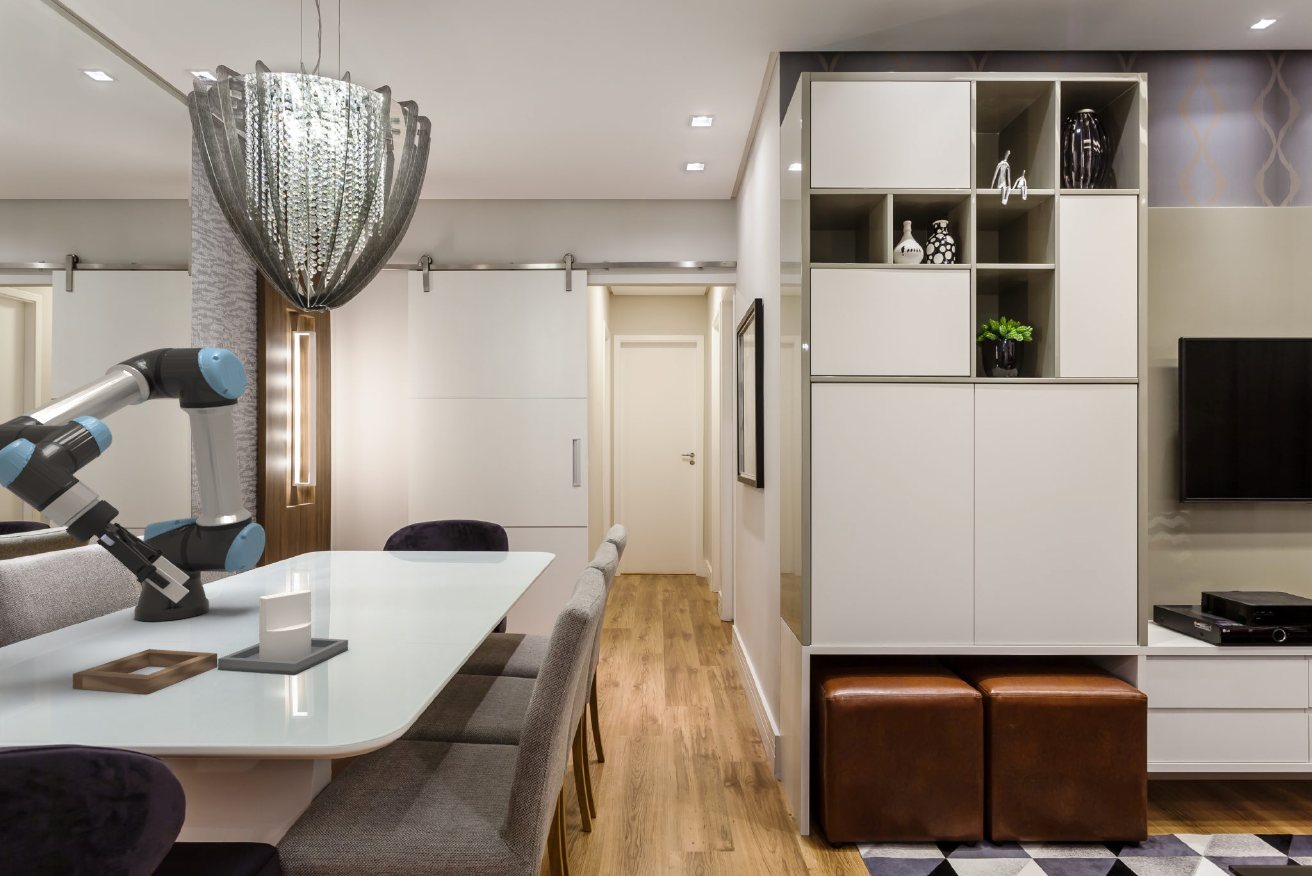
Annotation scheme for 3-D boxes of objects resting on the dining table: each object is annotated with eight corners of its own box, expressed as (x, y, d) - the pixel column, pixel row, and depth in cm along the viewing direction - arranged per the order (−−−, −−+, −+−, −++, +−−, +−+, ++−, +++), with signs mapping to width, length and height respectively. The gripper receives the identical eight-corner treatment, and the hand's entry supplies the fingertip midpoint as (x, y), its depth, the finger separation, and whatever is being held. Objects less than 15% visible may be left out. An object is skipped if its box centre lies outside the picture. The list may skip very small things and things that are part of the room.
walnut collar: (149, 661, 139) (149, 648, 139) (217, 666, 136) (217, 653, 136) (72, 688, 124) (72, 673, 124) (147, 694, 121) (147, 679, 121)
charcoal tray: (278, 645, 150) (278, 635, 150) (348, 649, 147) (348, 639, 147) (218, 669, 134) (218, 658, 134) (294, 674, 131) (294, 663, 131)
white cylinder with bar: (298, 646, 147) (298, 587, 147) (319, 655, 141) (319, 593, 141) (251, 656, 140) (251, 594, 140) (271, 666, 134) (271, 601, 134)
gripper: (73, 520, 137) (168, 591, 145) (50, 539, 116) (163, 620, 124) (108, 492, 139) (199, 563, 148) (93, 504, 118) (200, 586, 127)
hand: (183, 589), depth 136 cm, fingers open, 13 cm apart
